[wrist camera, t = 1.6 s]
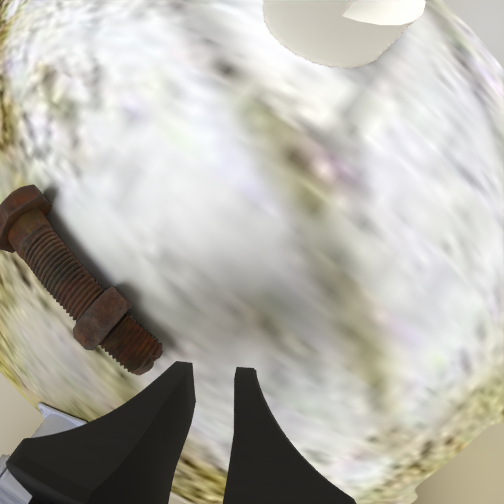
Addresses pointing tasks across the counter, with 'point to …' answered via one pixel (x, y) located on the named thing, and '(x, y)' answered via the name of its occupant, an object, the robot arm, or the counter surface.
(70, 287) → the bolt
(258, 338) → the counter surface
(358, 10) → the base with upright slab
